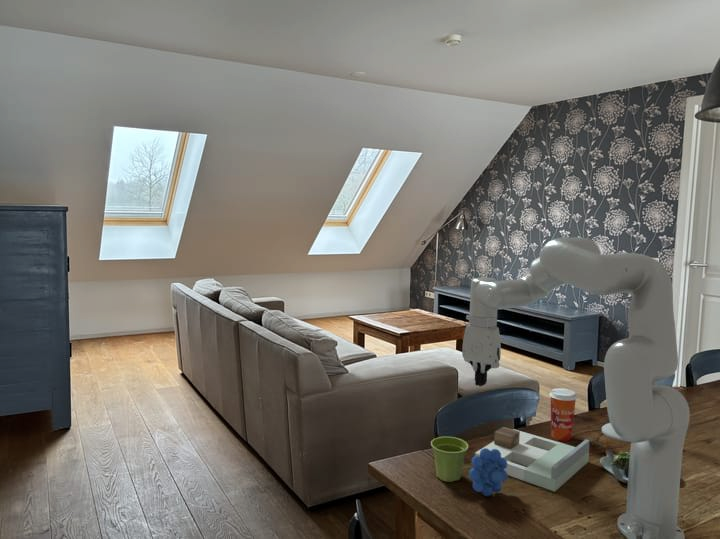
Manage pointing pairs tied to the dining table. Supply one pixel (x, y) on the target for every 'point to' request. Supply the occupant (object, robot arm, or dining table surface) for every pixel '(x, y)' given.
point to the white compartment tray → (542, 460)
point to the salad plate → (617, 465)
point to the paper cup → (562, 413)
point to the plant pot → (449, 457)
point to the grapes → (488, 471)
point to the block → (506, 437)
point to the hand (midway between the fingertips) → (480, 384)
